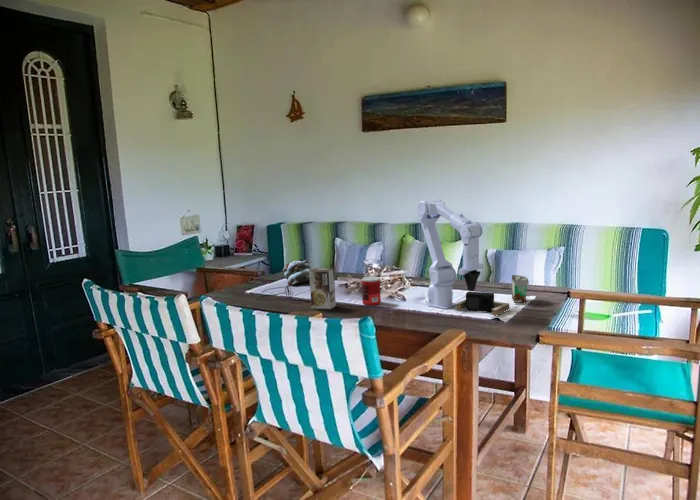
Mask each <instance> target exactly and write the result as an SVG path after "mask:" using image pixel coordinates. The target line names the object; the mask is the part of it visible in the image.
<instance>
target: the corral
mask: <svg viewBox="0 0 700 500" xmlns="http://www.w3.org/2000/svg"><path fill="white" fill-rule="evenodd" d="M456 304H457V305H456V311H461V309H462V310H464V309H466V299H463V300H461V301H458V302H456ZM508 309H509V310H510V303H507V302H502V301H495V300H494V308H493V309H492V312H491V316H492V315H494V316H496V315H498V314H500V313H502V312H504V311H506V310H508ZM504 313H505V312H504ZM502 314H503V313H502ZM500 315H501V314H500ZM494 316H493V317H494ZM498 316H499V315H498ZM496 317H497V316H496Z"/></svg>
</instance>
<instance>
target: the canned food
mask: <svg viewBox="0 0 700 500" xmlns="http://www.w3.org/2000/svg"><path fill="white" fill-rule="evenodd" d="M361 293H362V294H361V297H362V299H361V300H362V304H363V305H364V306H369V307H370V306H378V305H380V304H381V300H382V299H381V298H382V297H381V278H380V277H379V276H364V277H362V278H361Z"/></svg>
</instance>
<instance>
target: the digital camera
mask: <svg viewBox="0 0 700 500" xmlns="http://www.w3.org/2000/svg"><path fill="white" fill-rule="evenodd" d="M465 300H466V308H465V311H466V310H468V311H467V312H477V311H486V312H485V313H492V309H493V308H494V301H495V293H494V292H484V291H483V292H481V291H467V292H466V293H465Z"/></svg>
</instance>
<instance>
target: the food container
mask: <svg viewBox="0 0 700 500" xmlns="http://www.w3.org/2000/svg"><path fill="white" fill-rule="evenodd" d="M529 284H530V282H529V279H528V277H527V276H525V275H519V274H517V275H516V274H511V299H513V300H512V302H513V301H514V302H513V304H514V303H523V304H525V303H526V301H527V289H528V285H529ZM524 302H525V303H524Z"/></svg>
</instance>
